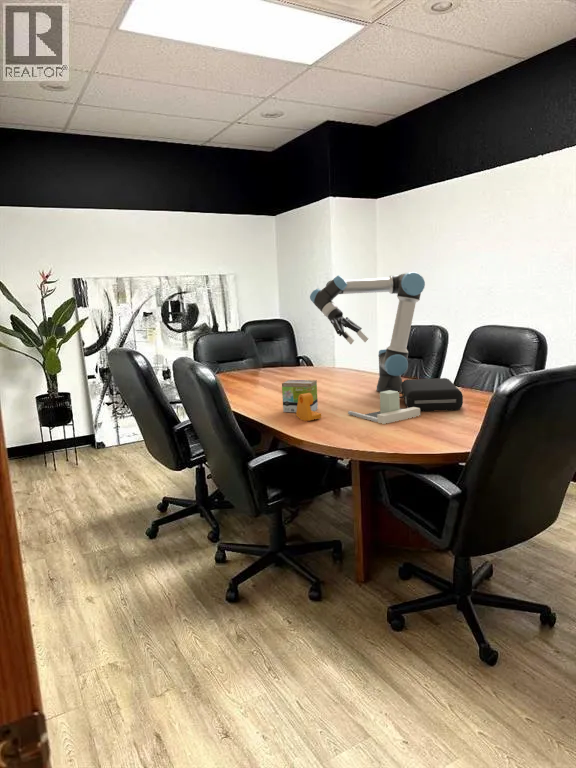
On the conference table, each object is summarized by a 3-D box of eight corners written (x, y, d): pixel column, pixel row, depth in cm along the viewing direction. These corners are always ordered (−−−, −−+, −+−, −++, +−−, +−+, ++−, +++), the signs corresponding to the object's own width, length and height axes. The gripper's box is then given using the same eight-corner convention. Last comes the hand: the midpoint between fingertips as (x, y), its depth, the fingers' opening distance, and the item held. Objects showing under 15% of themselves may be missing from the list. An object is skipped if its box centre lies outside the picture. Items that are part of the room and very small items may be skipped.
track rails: (383, 407, 262) (383, 404, 261) (413, 414, 244) (413, 411, 243) (348, 414, 251) (347, 411, 251) (377, 422, 233) (377, 419, 233)
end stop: (413, 414, 244) (413, 406, 243) (420, 415, 240) (420, 408, 240) (377, 422, 233) (377, 414, 233) (383, 424, 230) (383, 416, 229)
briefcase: (388, 398, 284) (388, 379, 282) (450, 395, 280) (450, 376, 278) (393, 413, 249) (392, 392, 247) (464, 411, 245) (464, 389, 243)
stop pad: (387, 410, 255) (387, 409, 255) (409, 415, 242) (409, 414, 242) (360, 415, 247) (360, 415, 247) (382, 421, 235) (381, 420, 235)
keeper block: (390, 413, 246) (389, 390, 244) (399, 416, 241) (399, 391, 239) (380, 416, 243) (379, 392, 241) (389, 418, 238) (389, 393, 236)
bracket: (322, 419, 245) (321, 393, 243) (308, 422, 241) (307, 395, 239) (310, 415, 254) (308, 390, 252) (296, 418, 251) (295, 392, 249)
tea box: (282, 412, 263) (280, 382, 261) (289, 408, 273) (288, 379, 270) (312, 413, 258) (310, 382, 256) (318, 408, 267) (317, 379, 265)
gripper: (342, 317, 290) (368, 344, 282) (314, 319, 270) (341, 348, 263) (349, 306, 286) (376, 334, 278) (322, 308, 266) (350, 337, 259)
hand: (359, 341), depth 270 cm, fingers open, 13 cm apart
